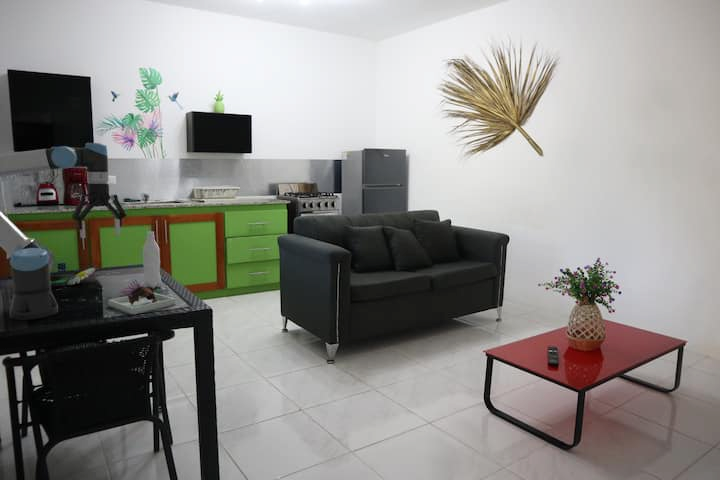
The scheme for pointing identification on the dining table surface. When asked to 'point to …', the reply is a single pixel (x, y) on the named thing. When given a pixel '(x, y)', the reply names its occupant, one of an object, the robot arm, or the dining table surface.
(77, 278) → the decorative flower
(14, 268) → the robot arm
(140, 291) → the broken clay pot
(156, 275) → the water bottle
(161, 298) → the tray
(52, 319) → the dining table surface
